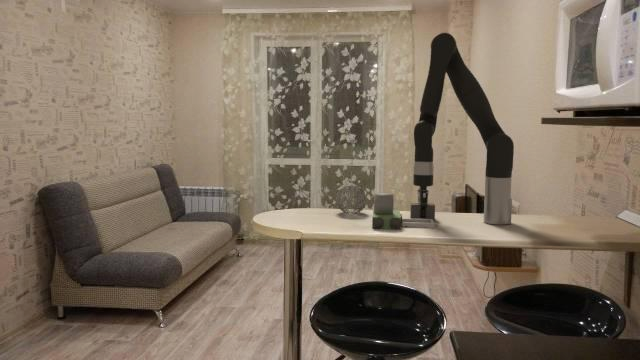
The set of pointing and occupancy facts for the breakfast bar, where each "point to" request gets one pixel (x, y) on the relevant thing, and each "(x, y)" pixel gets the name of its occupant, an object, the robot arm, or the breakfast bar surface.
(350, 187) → the pendant light
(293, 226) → the breakfast bar surface
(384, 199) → the toy tractor
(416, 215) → the grey rectangular block
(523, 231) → the breakfast bar surface
